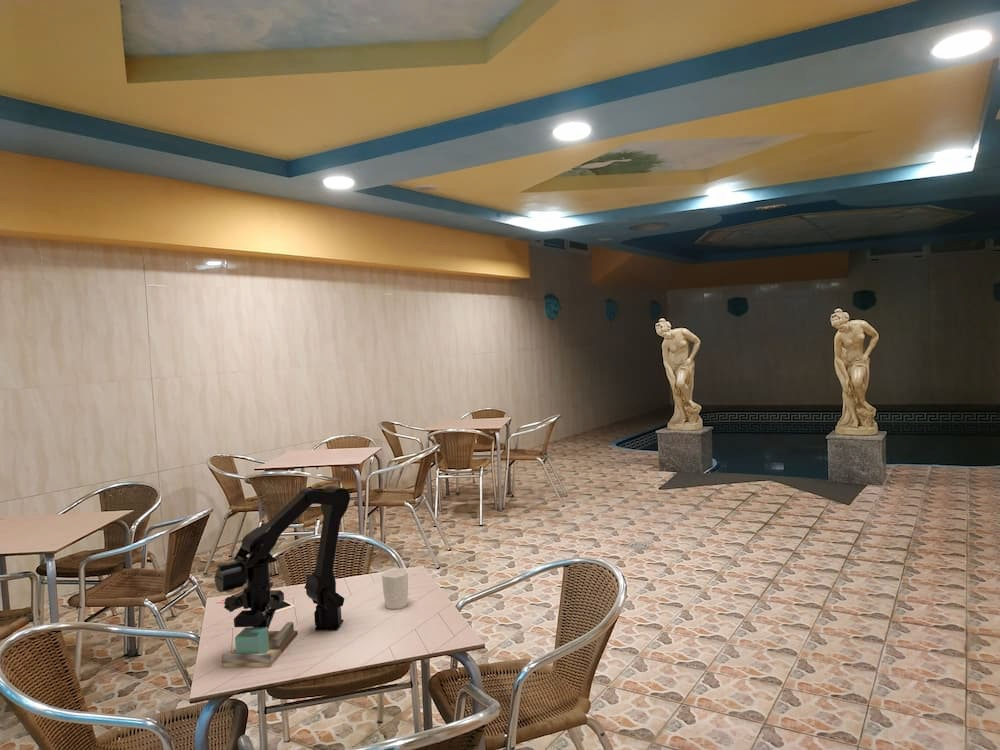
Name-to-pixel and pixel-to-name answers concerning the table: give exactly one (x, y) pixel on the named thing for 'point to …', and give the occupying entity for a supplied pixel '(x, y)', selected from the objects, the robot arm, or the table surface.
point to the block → (252, 640)
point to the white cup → (395, 588)
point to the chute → (276, 647)
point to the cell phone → (280, 606)
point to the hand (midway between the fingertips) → (262, 639)
